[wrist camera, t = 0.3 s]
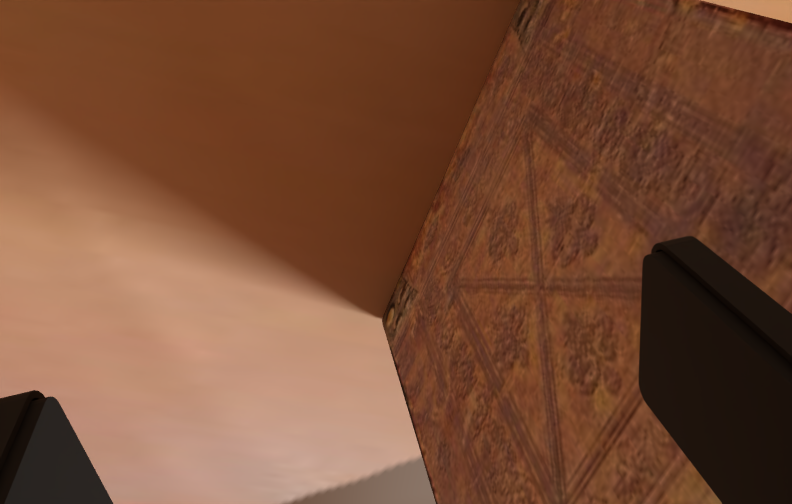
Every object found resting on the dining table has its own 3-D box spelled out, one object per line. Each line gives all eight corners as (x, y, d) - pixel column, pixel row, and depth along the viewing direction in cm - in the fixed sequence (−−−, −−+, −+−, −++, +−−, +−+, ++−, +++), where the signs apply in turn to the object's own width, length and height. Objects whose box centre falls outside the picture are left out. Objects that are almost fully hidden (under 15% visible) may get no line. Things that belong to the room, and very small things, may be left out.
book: (539, -46, 38) (1165, 100, 12) (668, 13, 41) (1390, 232, 15) (380, 321, 48) (533, 841, 22) (493, 347, 51) (747, 831, 25)
